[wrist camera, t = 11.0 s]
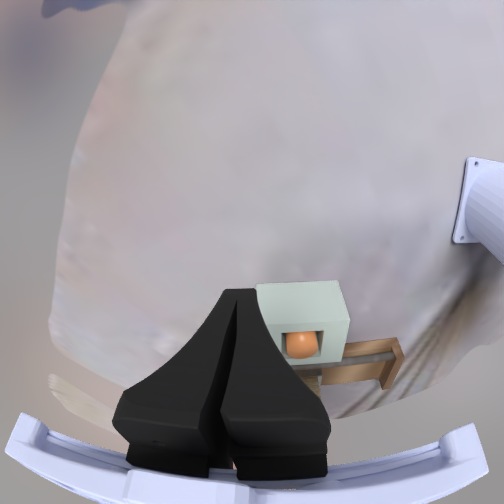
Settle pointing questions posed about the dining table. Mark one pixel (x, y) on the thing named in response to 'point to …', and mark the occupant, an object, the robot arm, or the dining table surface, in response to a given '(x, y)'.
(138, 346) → the dining table surface
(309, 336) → the orange rounded peg
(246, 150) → the dining table surface
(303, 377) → the block
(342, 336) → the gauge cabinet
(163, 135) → the dining table surface
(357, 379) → the rail deck
